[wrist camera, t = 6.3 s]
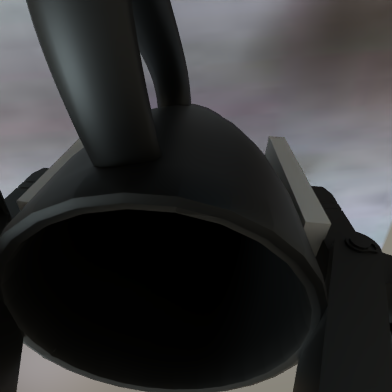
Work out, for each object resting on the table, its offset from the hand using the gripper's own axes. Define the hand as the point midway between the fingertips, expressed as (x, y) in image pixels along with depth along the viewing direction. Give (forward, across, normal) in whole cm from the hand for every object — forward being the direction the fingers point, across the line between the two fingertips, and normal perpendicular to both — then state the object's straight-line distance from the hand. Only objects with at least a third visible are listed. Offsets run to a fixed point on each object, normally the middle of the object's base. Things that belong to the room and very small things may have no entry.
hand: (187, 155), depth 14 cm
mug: (+1, 0, +2) cm, 2 cm away
